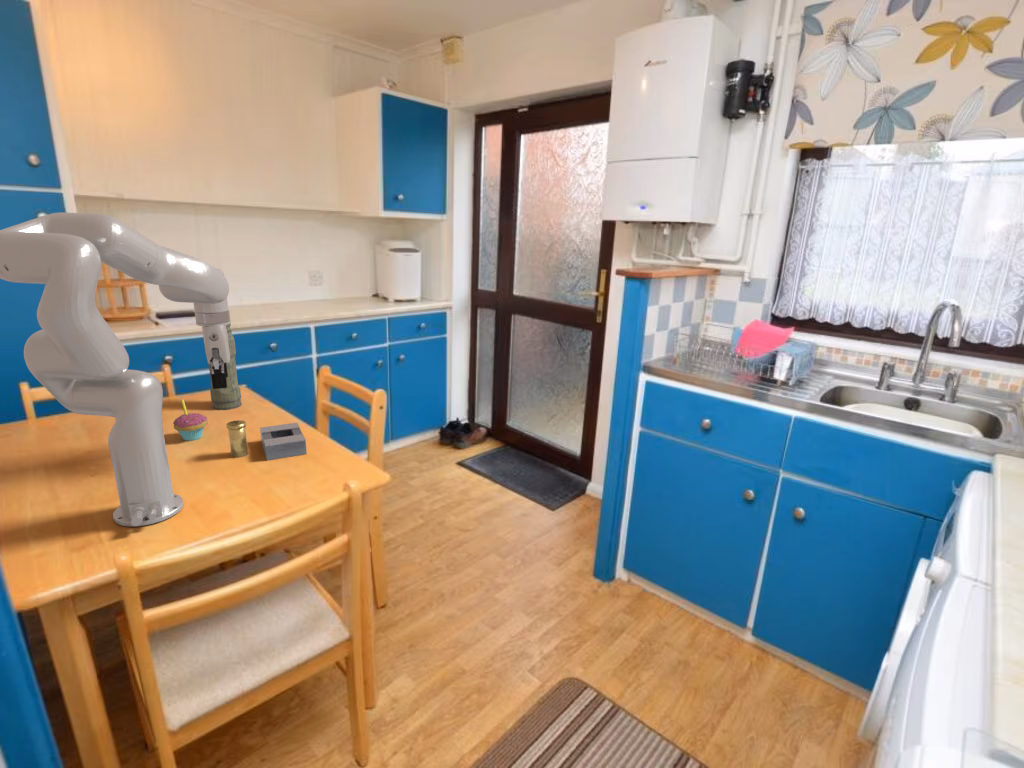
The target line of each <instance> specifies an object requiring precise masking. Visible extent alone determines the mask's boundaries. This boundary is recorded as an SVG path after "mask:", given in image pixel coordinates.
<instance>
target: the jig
mask: <svg viewBox="0 0 1024 768" xmlns="http://www.w3.org/2000/svg"><path fill="white" fill-rule="evenodd" d="M259 431H260V432H259V433H260V441H261V445H262V449H263V452H264V455H265V459H266V461H271V460H278V459H284V458H291V457H298V456H302V455H307V454H308V453H307V441H306V438H305V436H304V433H303V431H301V427H300V425H299V423H298V422H291V423H290V422H289V423H284V424H276V425H270V426H262V427H259Z"/></svg>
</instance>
